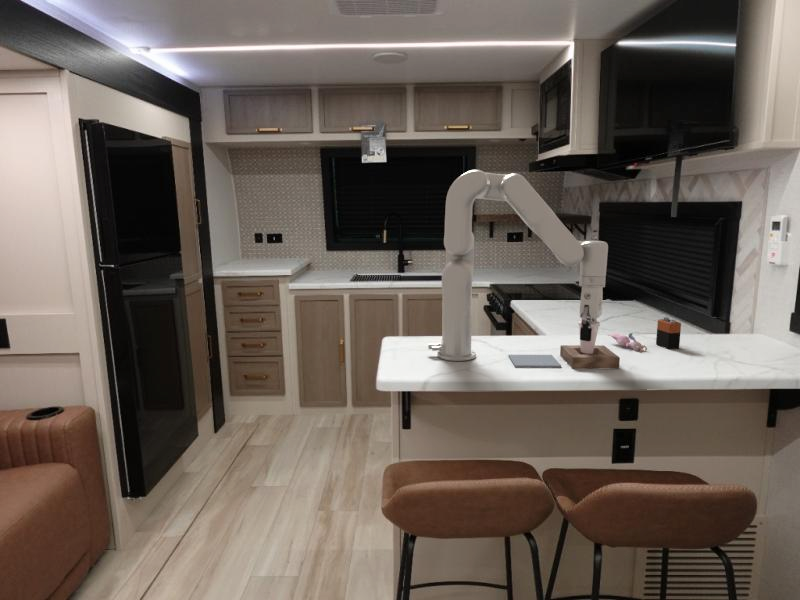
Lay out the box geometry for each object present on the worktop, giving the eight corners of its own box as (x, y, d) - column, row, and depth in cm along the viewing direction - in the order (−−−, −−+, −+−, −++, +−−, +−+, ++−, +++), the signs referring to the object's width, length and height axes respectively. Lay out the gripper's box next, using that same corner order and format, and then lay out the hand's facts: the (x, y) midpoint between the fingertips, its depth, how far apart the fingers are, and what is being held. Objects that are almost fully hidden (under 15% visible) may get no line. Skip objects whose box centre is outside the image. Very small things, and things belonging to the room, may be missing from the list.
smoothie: (600, 351, 166) (604, 308, 164) (592, 356, 162) (596, 311, 159) (581, 348, 171) (584, 305, 168) (572, 352, 166) (575, 308, 163)
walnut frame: (572, 368, 160) (572, 357, 159) (560, 355, 174) (560, 345, 173) (619, 368, 159) (619, 357, 159) (603, 355, 173) (603, 345, 173)
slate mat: (514, 367, 162) (515, 365, 162) (508, 356, 173) (508, 354, 173) (561, 367, 161) (561, 365, 161) (551, 356, 173) (551, 354, 173)
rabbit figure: (649, 354, 179) (614, 338, 192) (653, 338, 177) (617, 322, 190) (636, 357, 177) (601, 340, 189) (640, 340, 175) (605, 324, 187)
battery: (665, 343, 188) (668, 316, 186) (679, 348, 181) (682, 320, 179) (655, 344, 187) (657, 316, 185) (668, 349, 180) (671, 320, 179)
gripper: (598, 285, 153) (594, 346, 156) (610, 279, 167) (606, 334, 171) (572, 283, 157) (568, 342, 160) (586, 277, 171) (582, 331, 175)
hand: (587, 337), depth 165 cm, fingers closed on smoothie, 6 cm apart
